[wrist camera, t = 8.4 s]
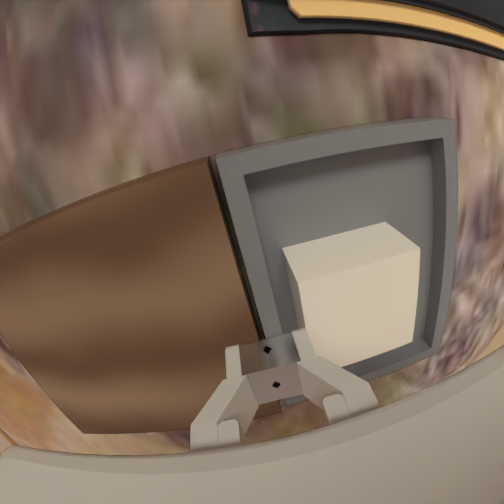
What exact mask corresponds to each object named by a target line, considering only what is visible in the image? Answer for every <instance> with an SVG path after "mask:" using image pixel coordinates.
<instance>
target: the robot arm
mask: <svg viewBox="0 0 504 504" xmlns="http://www.w3.org/2000/svg"><path fill="white" fill-rule="evenodd" d="M225 359H226V378H227V379H224V380H222V382H221V383H220V385H219V386H218V387H217V389H216V390H215V392H214V393H213V394H212V396H211V397H210V399H209V400H208V401H207V403H206V404H205V406H204V407H203V408H202V410H201V411H200V413H199V414H198V415H197V417H196V418H195V419H194V421H193V422H192V424H191V432H190V452H189V453H177V454H161V455H96V454H80V453H69V452H59V451H51V450H43V449H37V448H30V447H25V446H20V445H11V446H9V447H8V448H7V449H5V450H4V451H3V452H1V453H0V504H504V345H503V346H501V347H499V348H498V349H496V350H495V351H493V352H492V353H490V354H488V355H487V356H485V357H483V358H482V359H480V360H478V361H477V362H475V363H473V364H471V365H470V366H468V367H466V368H464V369H462V370H461V371H459V372H457V373H455V374H453V375H451V376H449V377H447V378H446V379H444V380H442V381H440V382H438V383H436V384H433V385H431V386H429V387H427V388H425V389H423V390H421V391H419V392H416V393H414V394H412V395H410V396H407V397H405V398H403V399H400V400H398V401H396V402H393V403H391V404H388V405H386V406H383V407H380V405H379V403H378V401H377V399H376V397H375V395H374V393H373V391H372V389H371V387H370V385H369V382H367V381H365V380H363V379H361V378H359V377H358V376H356V375H354V374H352V373H350V372H348V371H346V370H345V369H343V368H341V367H339V366H337V365H336V364H334V363H332V362H330V361H328V360H327V359H325V358H323V357H321V356H318V357H316V355H315V352H314V350H313V347H312V344H311V342H310V339H309V336H308V334H307V331H306V329H305V328H300V329H297V330H294V331H291V332H287V333H283V334H280V335H276V336H272V337H268V338H265V339H260V340H256V341H251V342H246V343H242V344H239V345H233V346H228V347H226V349H225ZM301 394H303V395H304V396H305V397H307V398H308V399H309V400H310V401H312V402H313V403H314V404H315V405H317V406H318V407H319V408H320V409H322V410H323V411H324V418H325V427H321V428H318V429H314V430H311V431H307V432H303V433H299V434H295V435H291V436H287V437H283V438H278V439H274V440H269V441H264V442H259V443H254V444H250V442H249V440H248V438H247V437H246V435H245V434H246V432H247V430H248V428H249V426H250V423H251V421H252V419H253V417H254V415H255V413H256V411H257V409H258V407H259V406H258V405H260V404H264V403H268V402H272V401H276V400H279V399H280V398H281V399H284V398H288V397H292V396H297V395H301Z"/></svg>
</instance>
